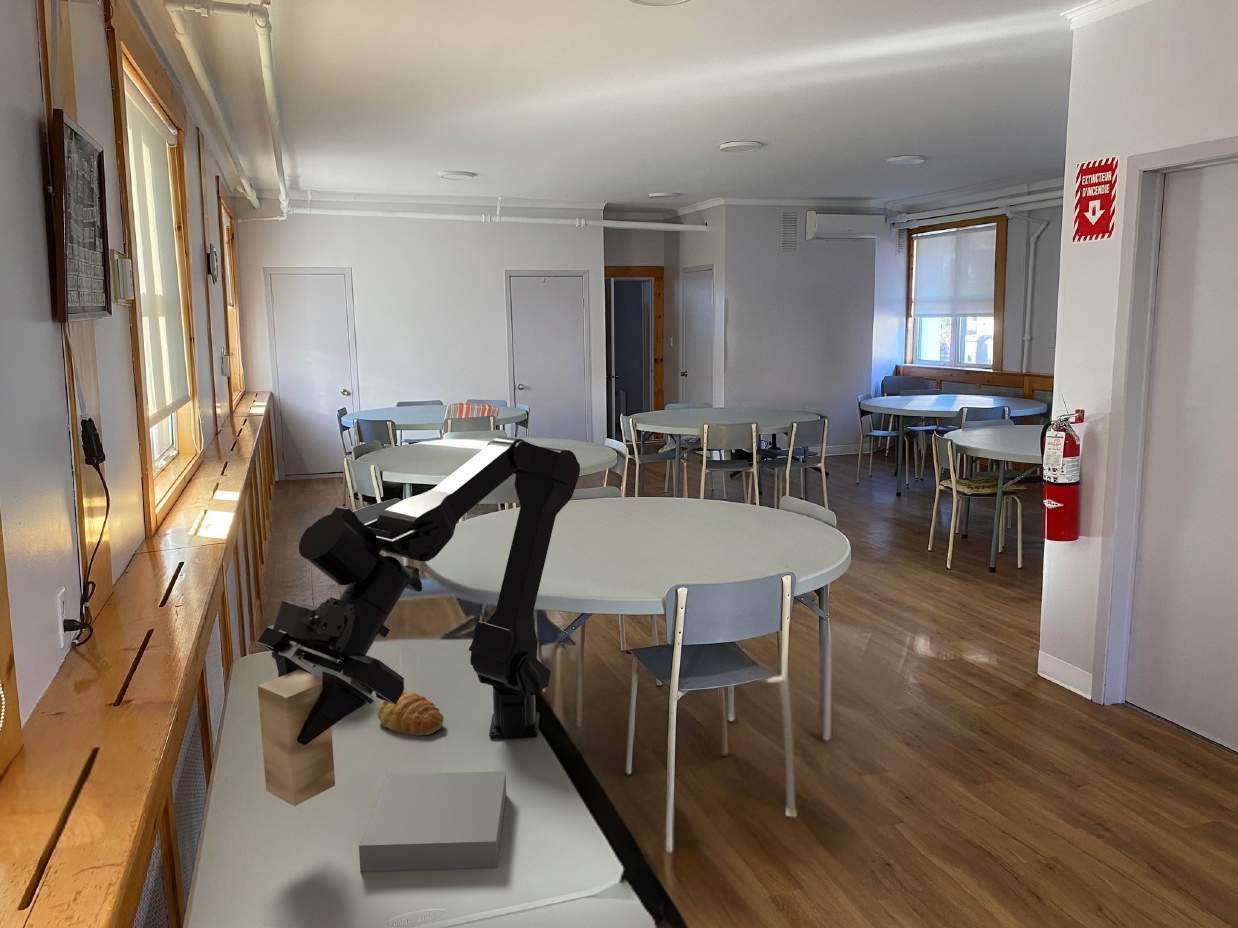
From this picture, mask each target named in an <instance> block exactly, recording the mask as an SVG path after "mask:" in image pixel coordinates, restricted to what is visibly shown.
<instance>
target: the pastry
mask: <svg viewBox="0 0 1238 928" xmlns="http://www.w3.org/2000/svg"><path fill="white" fill-rule="evenodd" d="M377 719H378V720H379V721H380V723H381V724H382V725H383V727H384V728H387V729H389V730H390V731H393V732H395V733H401V734H405V735H410V736H428V735H431V734H433V733H435V732H436V731H438V730H440V729H441V728H442V725H443V723H444V719H445V718H444V716H443V714H442V713H441V711H440V709H439V707H436V706H435V704H434V702H431V701H429V699H427V698H426V697H425V696H423V695H422V696H421V695H419V694H418V693H416V692H413V693H409V694H408V693H406V691H403V693H402V695H401V696H400V698H399V700H398V702H397V703H396V705H393V704H391V703H388V702H386V701H383V700H382V703H380V707H379V710H378V712H377Z"/></svg>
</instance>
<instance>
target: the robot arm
mask: <svg viewBox="0 0 1238 928" xmlns="http://www.w3.org/2000/svg"><path fill="white" fill-rule="evenodd" d="M580 473H581V465H580V462H578V458H577V456H576V455H575V453H574V452H573V451H571V450H569V449H562V448H553V447H545V446H538V445H536V444H534V443H533V444H532V443H530V442H528V441H526V440H524V439H522V438H517V437H515V438H514V437H508V436H497V437H494V438H491V440H489V442H487V446H485V447H484V448H483V449H482V450H480V451H479V452H478V453H477V454H475V455H474V456H473V457H472V458H471V459H469V460H468V461H466V462H465V463H463V465H461V466H460V467H459V468H458V469H456V470H455V471H454V472H453V473H451V474H450V475H449V476H448V477H446V478H444V479H443V481H441V482H440V483H439V484H437V485H436V486H434V487H433V488H432V489H431V490H428V491H427V492H424V493H421V494H417V495H414V496H413V495H412V496H410V497H406V498H404V499H403V500H400V501H399V502H396V503H394V504H393V505H390V506H389V507H387V508H386V509H384V510H383V511H382V512H381V513H380V514H379V516H378V517H377V518H375V519H373V520H371V521H368V522H366V523H363V522H362V521H361V520H360V519H359V518H358V516H357V514H356V513H355V512H354V511H352V510H351V508H347V507H343V506H338V505H337V506H336V507H335V508H334V510H333V511H332V512H331V514H327V515H324V516H323V517H321V518H319V519H318V520H317V521H315V522H314V523H313V524H312V525H311V526H308V527H307V528H306V529H305V530H304V532H303V534H302V536H301V537H300V540H299V544H298V552H299V554H300V556H301V557H302V558H304V559H305V560H306V561H307V562H308V563H310V564H311V565H312V566H313V567H315V568H316V569H318V570H319V571H320V572H321V573H322V574H324V575H325V576H326V577H328V578H329V579H330V580H331V581H333V582H334V583H335V584H337V585H339V586H345V588H344V590H343V592H342V593H341V595H340V596H339V598H335V597H332V596H331V597H330V598H327V599H326V600H325V601H324V602H321V603H320V604H319V605H318V606H315V605H313V604H306V603H302V602H297V601H290V600H284V599H282V600H281V601H280V604H279V607H278V610H277V614H276V617H275V620H274V622H273V623H274V624H272V625H268V626H267V627H266V628H265V629H264V631H263V632H262V634H261V635H260V637H259V638H258V640H257V643H258V644H259V645H262V647H264V648H266V649H267V650H269V651H270V652H271V658H272V659H274V660H275V664H276V668H277V672H278V673H277V674H278V676H277V678H278V677H281V676H283V675H286V674H289V673H291V672H294V671H296V670H299V669H300V670H302V671H305V672H307V673H310V674H312V673H311V672H312V670H313V668H314V667H315V666H319V667H322V668H324V669H327V670H329V671H332V672H335V673H337V676H334V675H332V674H329V673H326V672H324V671H323V673H322V692H321V694H320V696H319V698H318V700H317V702H316V704H315V705H314V707H313V709H312V711H311V713H310V714H309V716H308V718H307V720H306V722H305V724H304V725H303V728H302V730H301V732H300V734H299V736H298V739H297V741H298V742H299V743H301V744H303V745H306V744H308V743H309V742H311V741H312V740H313V739H315V738H316V737H318V736H319V735H320V734H322V733H323V732H324V731H326V730H327V729H328V728H330V727H331V728H332V726H334V725H336V724H337V723H338V722H339V721H341V720H342V719H344V718H346V717H347V716H349V715H351V714H352V713H354V712H355V711H357V710H358V709H360V708H362V707H363V706H364V705H367V704H368V705H370V706H371V705H372V704H373V703H374V699H373V698H371V696H372V695H373V693H374V692H375V697H376V698H377V699H378V700H381V701H382V702H383V701H386V702H388V703H391V704H393V705H396V703H397V702H398V700H399V698H400V696H401V695H402V693H403V692H405V678H404V677H403V676H402V675H401V674H399V673H397V672H396V671H395V670H394V669H392V668H391V667H389V666H388V665H387V664H385V663H384V662H383V661H381V660H380V659H377V658H375V657H372V656H369V655H367V654H368V652H369V650H371V648H372V645H373V644H374V642H375V640H376V639H377V637H381V638H383V639H384V638H387V636H388V634H389V632H390V631H391V629H390V628H388V627H387V626H385V624H386V622H387V621H388V619H389V617H390V615H391V614H392V612H393V611H394V609H395V607H396V605H397V604H398V602H399V600H400V599H401V597H402V596H403V594H404V593H405V590H406V589H407V590H410V591H413V592H417V593H421V592H422V591H423V583H422V579H421V577H420V569H419V568H418V567H415V566H412V565H407V564H406V565H404V564H403V563H402V562H401V561H400V560H398V559H397V558H396V557H401V558H405V559H410V560H413V561H417V562H425V563H426V562H430V561H431V560H433V559H435V558H436V557H437V556H438V554H439V553H440V552H442V550H443V549H444V548H445V546H447V544H449V542H450V541H451V539H452V538H453V537H454V534H455V530H456V525H457V524H458V522H459V520H461V519H462V518H463V517H464V516H465V515H466V514H467V513H468V512H470V511H471V510H472V509H473V508H474V507H475V506H477V505H478V504H479V503H480V502H482V501H483V500H484V499H485V498H486V497H487V496H489V495H490V494H491V493H492V492H494V491H495V490H496V489H497V488H498V487H499V486H500V485H502V484H504V482H506V481H507V480H508V479H509V478H510V477H511V476H512V475H515V477H514V478H515V479H514V489H515V493H516V496H517V499H518V504H519V512H518V516H517V519H516V520H517V521H516V525H515V527H514V533H513V537H512V540H511V541H512V542H511V545H510V549H509V554H508V558H507V561H506V566H505V570H504V574H503V577H502V578H503V579H502V583H501V586H500V591H499V595H498V599H497V603H496V608H495V610H494V612H493V613H492V614H491V616H490V617H488V618H487V620H485V622H484V621H481V620H479V621H477V623H476V624H475V626H474V631H473V632H474V633H473V639H472V642H471V644H470V646H469V648H468V651H469V652H471V653H470V665H471V666H472V668H473V670H474V672H475V673H476V674H477V675H476V676H477V677H478V681H479V683H480V684H486V685H489V686H490V687H492V701H493V705H492V706H493V709H492V710H493V713H492V716H491V721H490V727H489V735H488V737H489V738H492V739H495V738H499V739H500V738H530V737H531V738H535V737H538V735H539V722H540V712H538V711H536V696H537V695H541V694H542V693H543V690H544V689H546V688H547V687H549V683H550V680H551V679H550V678H551V672H552V671H551V670H550V669H548V668H547V666H545V665H544V664H543V663H542V662H541V661H540V660H539V659H538V658H537V651H538V644H539V641H538V637H537V634H536V630H535V626H534V622H533V614H534V611H535V607H536V603H537V598H538V593H539V591H540V590H539V589H540V586H541V585H540V584H541V580H542V577H543V572H544V568H545V564H546V560H547V555H548V550H549V547H550V543H551V538H552V534H553V529H554V525H555V521H556V517H557V515H558V513H559V512H561V510H562V509H563V508H564V507H565V506H566V505H567V504H568V503H569V502H570V501H571V499H572V497H573V495H574V492H575V489H576V487H577V483H578V480H579V478H580ZM381 551H383V552H384V553H385V554H389V555H385V556H384V555H382V554H381ZM390 555H391V556H390ZM393 555H394V556H396V557H394V556H393Z"/></svg>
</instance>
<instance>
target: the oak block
mask: <svg viewBox="0 0 1238 928" xmlns="http://www.w3.org/2000/svg"><path fill="white" fill-rule="evenodd" d="M321 692H322V678H320V677H318V676H315V675H313V674H310V673H307V672H305V671H302V670H300V669H299V670H296V671H294V672H291V673H289V674H286V675H283V676H281V677H278V676H277V677H276V678H273V679H270V680H269V681H265V682H262V683H261V684H258V685H257V695H258V707H259V708H258V709H259V719H260V721H259V722H260V730H261V733H260V734H261V742H262V755H263V768H264V779H265V781H264V782H265V790H266V792H268V794H271V795H273V796H274V797H276V798H278V799H280V800H282V801H283V802H285V803H287V804H289V805H291V806H293V808H294V807H297V806H298V805H301V804H302V803H304V802H306V801H308V800H310V799H312V798H314V797H315V796H318V795H319V794H321V793H324V792H326V791H327V790H329V789H332V788H333V787H335V786H336V776H335V763H334V747H333V745H334V744H333V731H332V730H333V729H332V726H331V727H330V728H328V729H327V730H326V731H324V732H323V733H322V734H320V735H319V736H318V737H316V738H315V739H313V740H312V741H311V742H309V743H308V744H306V745H303V744H301V743H299V742H298V741H297V739H298V736H299V734H300V732H301V730H302V728H303V725H304V724H305V722H306V720H307V718H308V716H309V714H310V713H311V711H312V709H313V707H314V705H315V704H316V702H317V700H318V698H319V696H320V694H321Z"/></svg>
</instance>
